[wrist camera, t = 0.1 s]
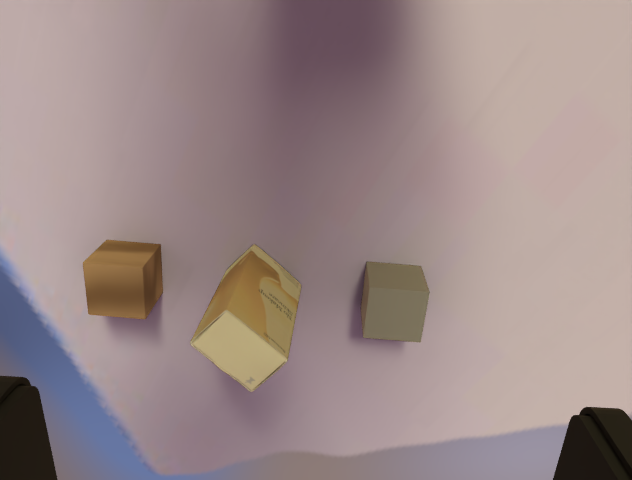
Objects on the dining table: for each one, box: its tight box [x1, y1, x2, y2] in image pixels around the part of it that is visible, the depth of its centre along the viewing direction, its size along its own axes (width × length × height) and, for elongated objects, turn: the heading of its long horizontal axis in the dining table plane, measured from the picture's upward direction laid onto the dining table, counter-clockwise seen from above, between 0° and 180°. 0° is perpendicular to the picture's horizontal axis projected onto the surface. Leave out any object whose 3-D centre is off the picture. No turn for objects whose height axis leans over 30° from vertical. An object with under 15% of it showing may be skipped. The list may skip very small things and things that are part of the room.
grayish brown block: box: [361, 262, 430, 342], centre depth 47 cm, size 5×5×5 cm
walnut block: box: [83, 240, 163, 319], centre depth 47 cm, size 5×5×5 cm
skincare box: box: [190, 244, 301, 392], centre depth 44 cm, size 6×4×12 cm
